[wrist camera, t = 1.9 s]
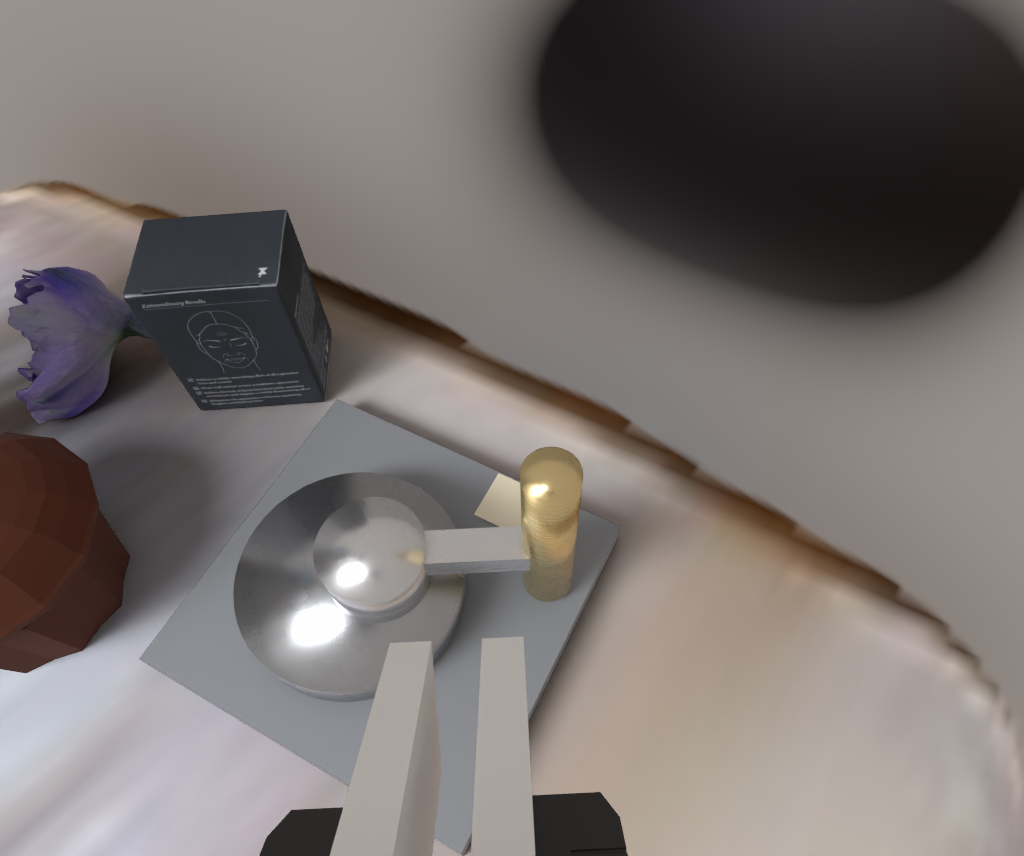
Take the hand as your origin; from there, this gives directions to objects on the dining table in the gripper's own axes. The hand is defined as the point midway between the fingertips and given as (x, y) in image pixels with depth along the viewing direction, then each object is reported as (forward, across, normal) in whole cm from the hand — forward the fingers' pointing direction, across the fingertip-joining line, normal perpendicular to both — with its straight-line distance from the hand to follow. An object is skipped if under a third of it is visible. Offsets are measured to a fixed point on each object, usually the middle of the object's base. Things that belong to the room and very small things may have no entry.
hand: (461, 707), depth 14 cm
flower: (+36, -24, +2) cm, 44 cm away
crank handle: (+23, -4, -8) cm, 25 cm away
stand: (+25, -5, -9) cm, 27 cm away
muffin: (+26, -24, -8) cm, 36 cm away
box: (+36, -14, +1) cm, 38 cm away
